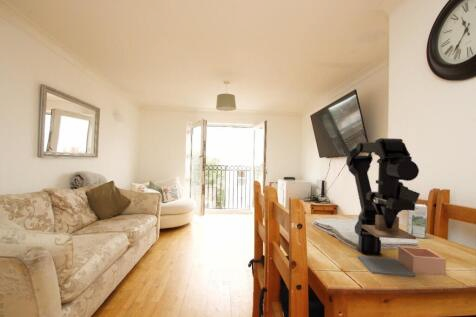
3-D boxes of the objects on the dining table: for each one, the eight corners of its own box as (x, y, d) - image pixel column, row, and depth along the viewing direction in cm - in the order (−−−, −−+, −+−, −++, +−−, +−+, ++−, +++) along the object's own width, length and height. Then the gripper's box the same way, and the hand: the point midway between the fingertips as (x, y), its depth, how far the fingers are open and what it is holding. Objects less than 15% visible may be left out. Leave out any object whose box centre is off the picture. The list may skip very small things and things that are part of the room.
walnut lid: (376, 237, 75) (377, 219, 75) (361, 227, 86) (362, 211, 86) (415, 239, 74) (416, 221, 74) (395, 228, 85) (395, 213, 85)
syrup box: (421, 235, 116) (422, 203, 116) (426, 239, 110) (427, 205, 110) (407, 233, 118) (408, 202, 118) (411, 237, 112) (412, 204, 112)
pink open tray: (413, 273, 76) (413, 256, 76) (397, 261, 85) (398, 246, 85) (445, 275, 75) (446, 259, 75) (426, 263, 84) (427, 248, 84)
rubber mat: (371, 273, 75) (372, 271, 75) (357, 257, 87) (357, 255, 87) (415, 276, 74) (415, 274, 74) (394, 260, 86) (394, 258, 86)
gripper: (436, 181, 70) (434, 237, 70) (399, 176, 89) (397, 221, 89) (394, 180, 71) (392, 235, 71) (366, 175, 90) (364, 219, 90)
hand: (387, 227), depth 80 cm, fingers closed on walnut lid, 2 cm apart
